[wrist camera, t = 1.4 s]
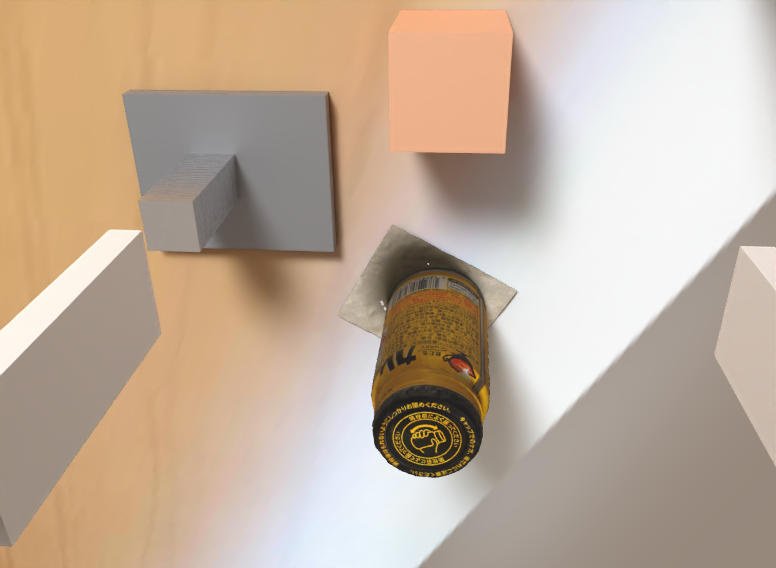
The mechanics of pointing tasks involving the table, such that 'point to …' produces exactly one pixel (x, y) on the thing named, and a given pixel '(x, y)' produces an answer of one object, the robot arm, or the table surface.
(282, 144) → the plinth
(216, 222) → the post
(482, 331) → the condiment
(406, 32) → the peach foam cube
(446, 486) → the table surface
